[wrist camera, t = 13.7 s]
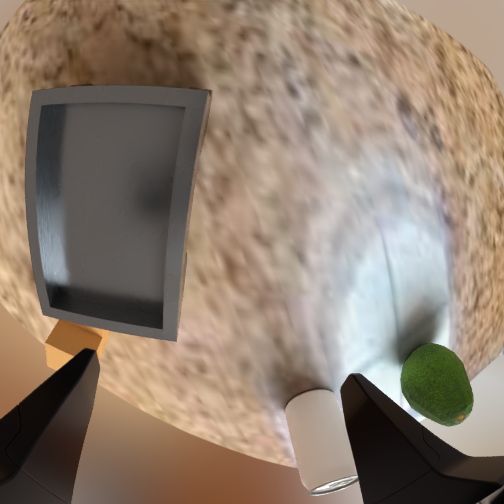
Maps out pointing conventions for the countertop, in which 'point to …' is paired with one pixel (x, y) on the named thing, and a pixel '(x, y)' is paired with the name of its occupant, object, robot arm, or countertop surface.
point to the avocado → (437, 385)
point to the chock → (72, 342)
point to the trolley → (113, 202)
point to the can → (320, 442)
